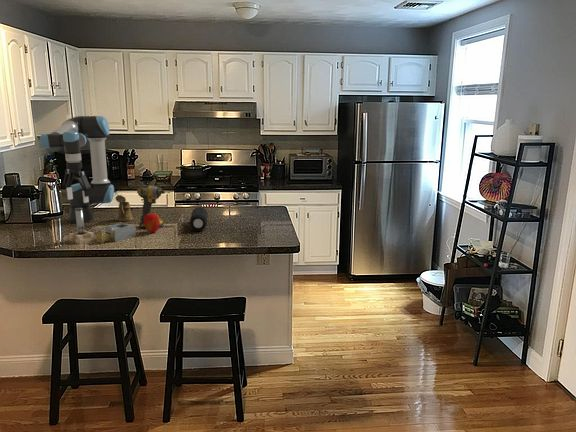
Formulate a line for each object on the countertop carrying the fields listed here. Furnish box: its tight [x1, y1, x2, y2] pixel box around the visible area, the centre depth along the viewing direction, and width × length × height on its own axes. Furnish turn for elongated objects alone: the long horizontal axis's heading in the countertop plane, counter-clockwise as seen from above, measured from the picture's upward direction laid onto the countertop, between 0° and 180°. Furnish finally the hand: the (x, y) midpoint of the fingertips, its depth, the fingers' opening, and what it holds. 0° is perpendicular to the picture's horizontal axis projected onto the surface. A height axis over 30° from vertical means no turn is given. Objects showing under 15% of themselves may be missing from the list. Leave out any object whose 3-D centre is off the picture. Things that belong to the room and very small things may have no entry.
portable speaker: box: [189, 206, 209, 232], centre depth 289 cm, size 26×10×10 cm, turn 8°
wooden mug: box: [115, 194, 133, 222], centre depth 300 cm, size 9×14×18 cm, turn 2°
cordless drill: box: [136, 184, 171, 229], centre depth 285 cm, size 9×20×25 cm, turn 78°
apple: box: [143, 212, 160, 234], centre depth 276 cm, size 9×9×12 cm
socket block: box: [101, 222, 137, 242], centre depth 267 cm, size 11×14×6 cm
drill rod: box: [75, 208, 86, 235], centre depth 259 cm, size 4×4×18 cm
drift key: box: [95, 233, 111, 244], centre depth 260 cm, size 4×10×4 cm, turn 148°
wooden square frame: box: [68, 230, 96, 245], centre depth 261 cm, size 9×9×4 cm
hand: (78, 200), depth 256 cm, fingers open, 13 cm apart
